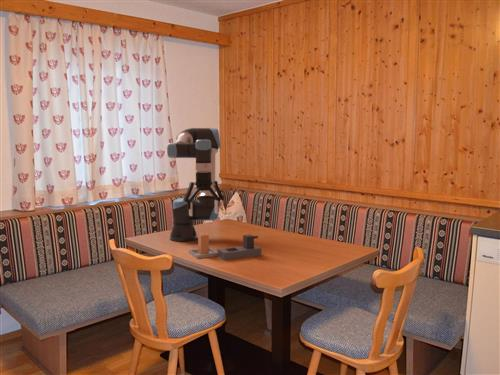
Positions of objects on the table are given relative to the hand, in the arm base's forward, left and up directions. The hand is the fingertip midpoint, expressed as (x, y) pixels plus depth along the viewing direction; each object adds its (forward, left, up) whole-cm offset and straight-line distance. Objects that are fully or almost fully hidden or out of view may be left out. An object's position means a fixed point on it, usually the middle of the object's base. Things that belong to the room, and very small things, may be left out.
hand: (203, 214), depth 227 cm
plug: (0, 0, -20) cm, 20 cm away
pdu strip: (+10, +15, -20) cm, 27 cm away
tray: (0, 0, -20) cm, 21 cm away
